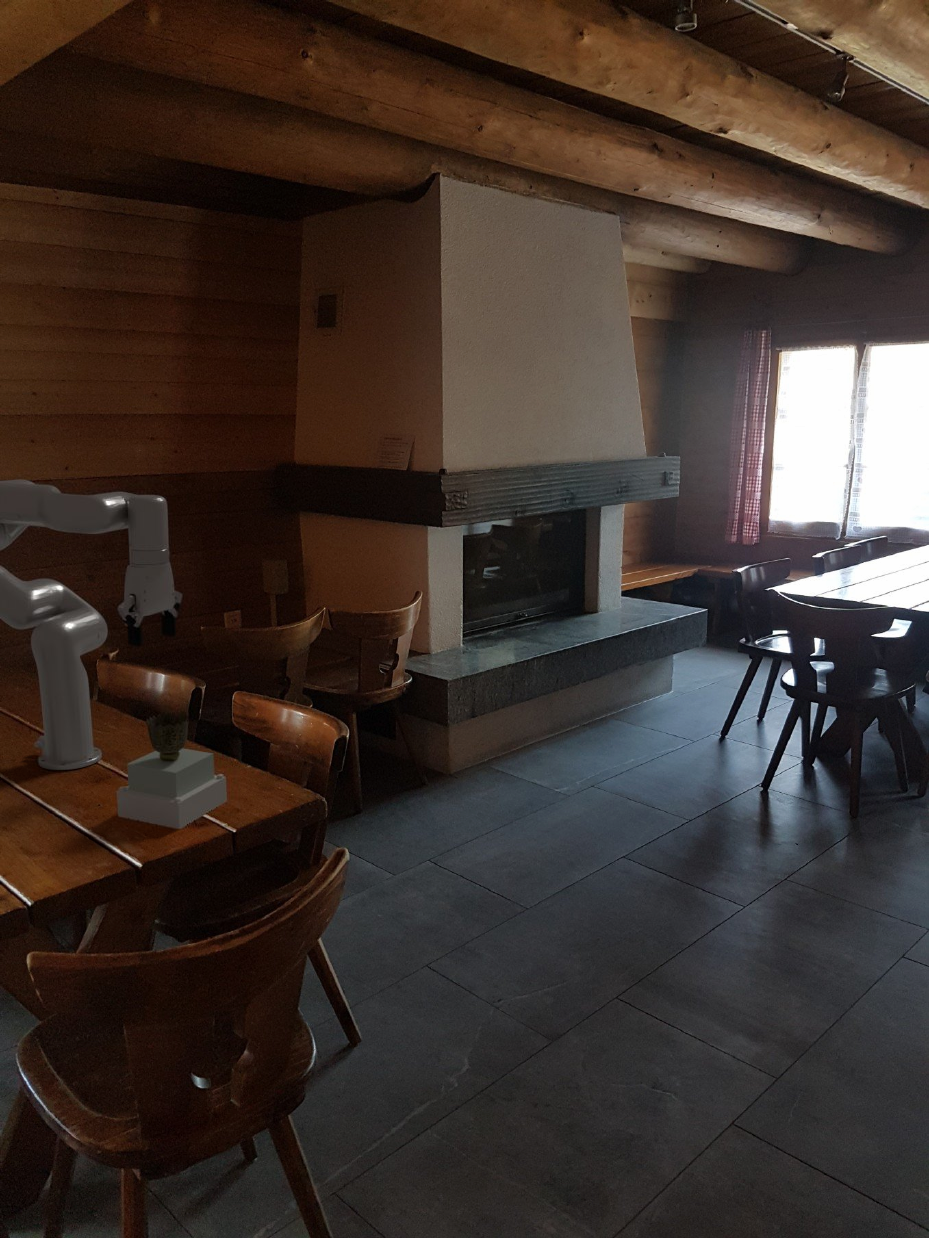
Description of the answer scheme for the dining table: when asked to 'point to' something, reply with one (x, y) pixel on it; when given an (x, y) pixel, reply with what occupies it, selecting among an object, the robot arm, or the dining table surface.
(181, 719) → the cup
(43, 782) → the dining table surface
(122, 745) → the dining table surface
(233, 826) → the dining table surface
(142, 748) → the dining table surface
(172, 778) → the grey stacking block
